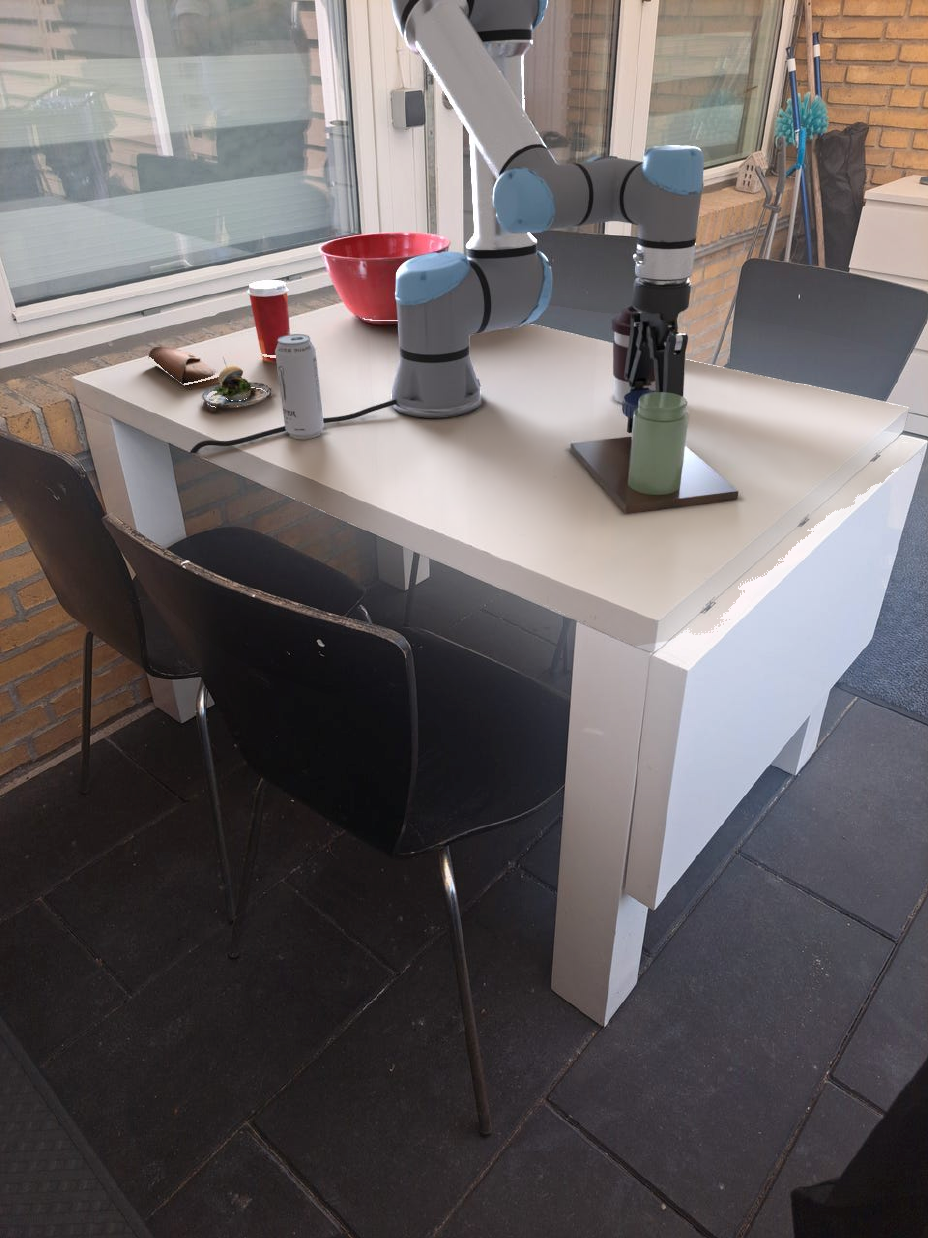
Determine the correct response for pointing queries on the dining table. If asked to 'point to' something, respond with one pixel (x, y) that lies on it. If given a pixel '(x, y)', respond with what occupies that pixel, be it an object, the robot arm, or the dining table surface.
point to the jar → (658, 443)
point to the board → (612, 474)
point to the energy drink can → (299, 386)
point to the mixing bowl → (374, 269)
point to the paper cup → (269, 314)
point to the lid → (633, 402)
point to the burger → (234, 390)
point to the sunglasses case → (184, 366)
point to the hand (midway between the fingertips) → (647, 441)
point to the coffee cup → (624, 353)
